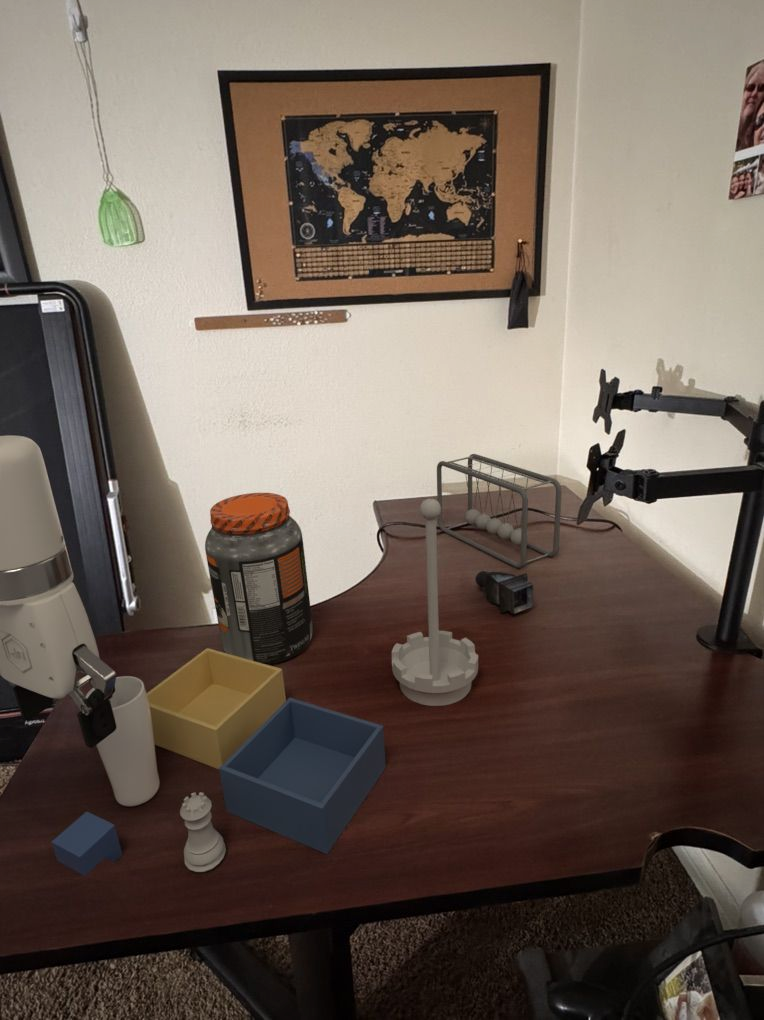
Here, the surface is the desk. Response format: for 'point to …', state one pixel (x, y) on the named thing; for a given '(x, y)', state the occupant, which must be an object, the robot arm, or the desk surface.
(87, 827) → the blue block
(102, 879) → the desk surface
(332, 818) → the slate bin
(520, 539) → the newton's cradle
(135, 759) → the drinking glass
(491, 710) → the desk surface
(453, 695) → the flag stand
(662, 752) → the desk surface
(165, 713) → the yellow bin
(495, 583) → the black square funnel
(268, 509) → the supplement tub
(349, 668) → the desk surface
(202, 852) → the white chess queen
